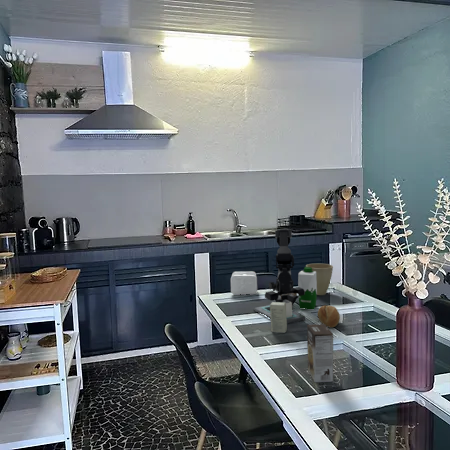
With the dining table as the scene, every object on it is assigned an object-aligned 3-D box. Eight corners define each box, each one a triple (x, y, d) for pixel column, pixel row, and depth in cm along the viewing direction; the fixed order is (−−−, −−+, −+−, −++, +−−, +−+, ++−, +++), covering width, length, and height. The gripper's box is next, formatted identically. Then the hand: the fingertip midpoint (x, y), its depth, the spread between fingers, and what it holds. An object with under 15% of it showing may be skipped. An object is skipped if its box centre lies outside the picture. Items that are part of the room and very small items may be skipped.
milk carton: (317, 305, 214) (317, 267, 212) (314, 310, 206) (314, 271, 204) (300, 304, 217) (300, 266, 215) (297, 309, 209) (296, 270, 207)
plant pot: (330, 298, 227) (330, 269, 225) (303, 295, 233) (302, 267, 231) (335, 291, 240) (335, 263, 238) (309, 289, 246) (309, 262, 245)
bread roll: (319, 329, 180) (319, 311, 180) (315, 318, 195) (315, 301, 194) (342, 329, 179) (342, 311, 179) (336, 318, 194) (336, 301, 193)
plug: (286, 314, 199) (286, 299, 198) (292, 317, 195) (291, 301, 194) (278, 316, 197) (278, 300, 196) (283, 318, 193) (283, 303, 192)
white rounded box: (257, 290, 247) (257, 271, 246) (257, 295, 237) (256, 275, 235) (232, 290, 249) (232, 271, 248) (230, 295, 239) (230, 275, 237)
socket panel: (278, 306, 215) (277, 303, 215) (305, 319, 193) (305, 316, 193) (254, 310, 209) (253, 307, 209) (279, 325, 187) (279, 321, 187)
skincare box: (287, 329, 181) (286, 302, 180) (285, 333, 177) (284, 305, 176) (272, 328, 184) (272, 301, 182) (270, 331, 179) (269, 304, 178)
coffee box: (307, 370, 143) (306, 324, 141) (325, 369, 143) (325, 323, 141) (314, 382, 134) (313, 334, 132) (333, 381, 134) (333, 333, 132)
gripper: (291, 273, 205) (292, 304, 207) (258, 277, 197) (259, 310, 199) (305, 277, 195) (305, 310, 196) (270, 282, 187) (271, 316, 189)
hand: (285, 311), depth 195 cm, fingers closed on plug, 4 cm apart
